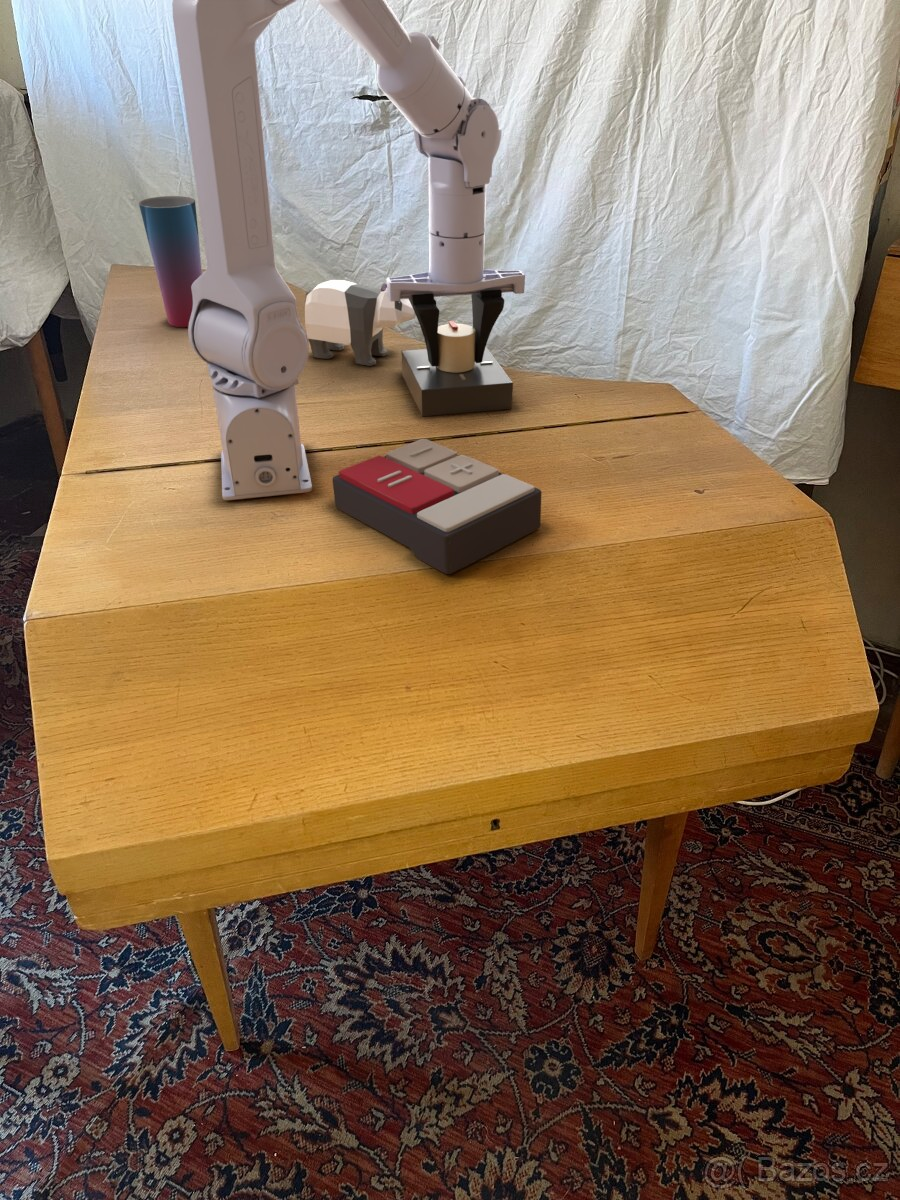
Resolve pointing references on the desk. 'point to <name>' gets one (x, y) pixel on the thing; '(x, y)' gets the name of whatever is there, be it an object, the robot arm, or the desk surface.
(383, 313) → the giant panda
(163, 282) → the cup
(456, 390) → the panel
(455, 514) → the calculator
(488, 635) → the desk surface
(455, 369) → the dial
